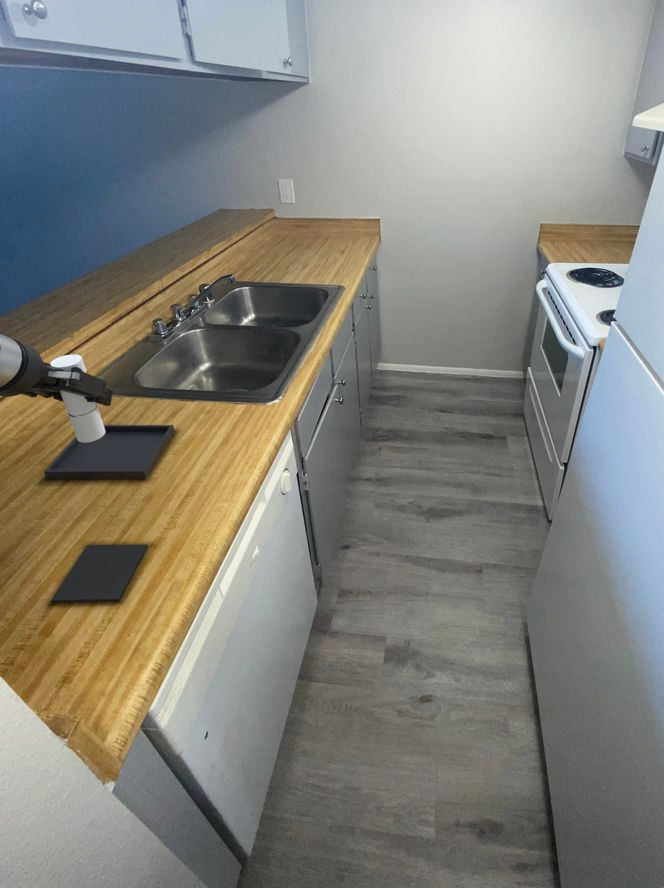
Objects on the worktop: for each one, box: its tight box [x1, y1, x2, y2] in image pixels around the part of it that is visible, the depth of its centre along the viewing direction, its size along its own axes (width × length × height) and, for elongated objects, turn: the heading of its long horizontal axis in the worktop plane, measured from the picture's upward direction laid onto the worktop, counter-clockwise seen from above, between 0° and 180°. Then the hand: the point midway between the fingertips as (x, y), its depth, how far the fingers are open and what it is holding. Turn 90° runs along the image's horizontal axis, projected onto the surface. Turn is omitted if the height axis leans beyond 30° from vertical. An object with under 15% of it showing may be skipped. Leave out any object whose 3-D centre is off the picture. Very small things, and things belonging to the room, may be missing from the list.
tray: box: [43, 424, 176, 480], centre depth 101 cm, size 19×15×2 cm
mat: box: [50, 544, 149, 604], centre depth 76 cm, size 10×10×1 cm
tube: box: [49, 354, 105, 443], centre depth 80 cm, size 4×4×15 cm
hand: (94, 398), depth 84 cm, fingers closed on tube, 4 cm apart
